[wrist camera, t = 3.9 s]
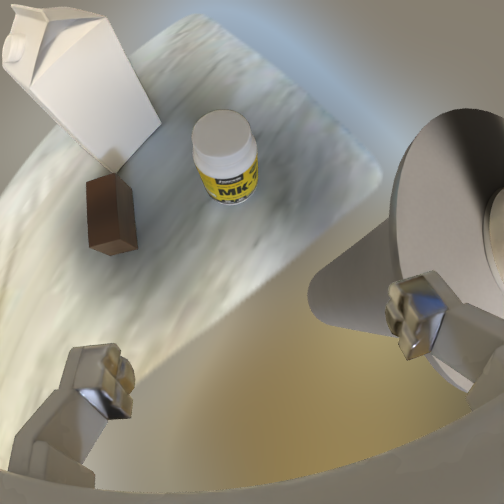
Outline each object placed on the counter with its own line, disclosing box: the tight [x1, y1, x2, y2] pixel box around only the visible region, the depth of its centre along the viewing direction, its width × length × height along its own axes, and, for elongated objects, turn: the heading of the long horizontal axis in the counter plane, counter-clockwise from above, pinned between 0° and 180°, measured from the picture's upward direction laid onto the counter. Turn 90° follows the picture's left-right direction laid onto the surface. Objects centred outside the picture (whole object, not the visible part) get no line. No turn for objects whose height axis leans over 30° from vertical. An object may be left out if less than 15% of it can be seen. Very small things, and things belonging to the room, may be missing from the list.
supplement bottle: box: [192, 110, 258, 205], centre depth 24 cm, size 5×5×8 cm
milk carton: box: [2, 4, 161, 173], centre depth 20 cm, size 7×7×19 cm
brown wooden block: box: [86, 173, 138, 256], centre depth 26 cm, size 6×3×4 cm, turn 12°
